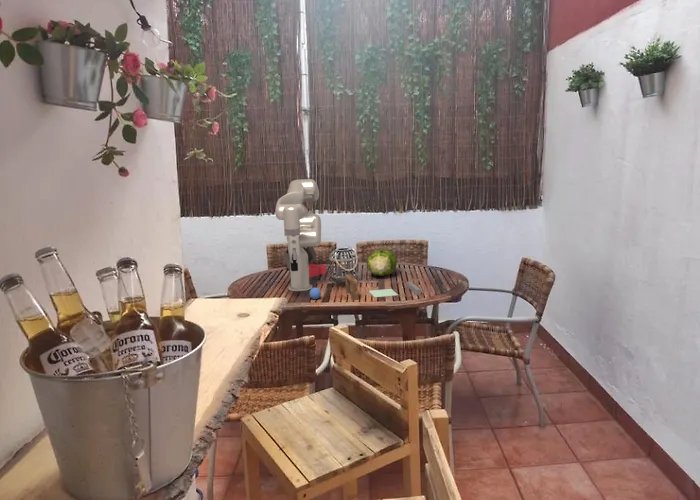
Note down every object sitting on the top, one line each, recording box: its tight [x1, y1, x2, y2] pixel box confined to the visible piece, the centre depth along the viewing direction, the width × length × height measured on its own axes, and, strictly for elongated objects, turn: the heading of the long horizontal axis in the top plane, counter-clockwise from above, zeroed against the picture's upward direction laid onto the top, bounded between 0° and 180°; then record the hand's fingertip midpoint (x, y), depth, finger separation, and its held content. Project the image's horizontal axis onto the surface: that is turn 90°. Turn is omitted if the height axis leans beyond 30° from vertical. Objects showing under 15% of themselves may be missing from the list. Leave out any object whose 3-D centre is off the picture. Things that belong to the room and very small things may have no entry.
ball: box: [309, 287, 322, 300], centre depth 256 cm, size 6×6×6 cm
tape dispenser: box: [308, 263, 327, 278], centre depth 307 cm, size 14×10×5 cm
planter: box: [282, 246, 318, 272], centre depth 319 cm, size 17×8×21 cm
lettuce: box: [366, 248, 398, 277], centre depth 295 cm, size 16×21×15 cm
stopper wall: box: [406, 281, 422, 296], centre depth 266 cm, size 16×2×2 cm, turn 11°
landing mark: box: [368, 288, 399, 298], centre depth 263 cm, size 12×12×1 cm
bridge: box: [344, 273, 359, 301], centre depth 259 cm, size 3×15×9 cm, turn 11°
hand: (294, 270), depth 252 cm, fingers closed
